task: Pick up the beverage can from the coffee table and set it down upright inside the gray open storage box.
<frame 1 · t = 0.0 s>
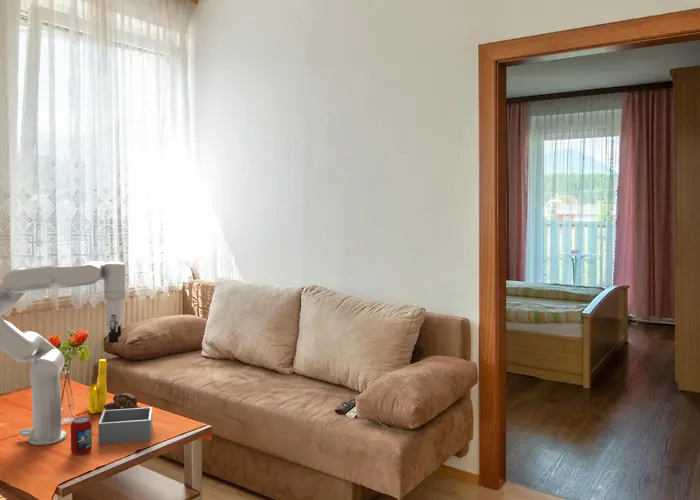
hand: (115, 339, 222), 37 cm above the table, tool pointing down, fingers open, 9 cm apart
wooden carving: (123, 418, 241), on the table
gray open storage box: (126, 435, 224), on the table
figure statuette: (97, 411, 248), on the table
beverage can: (81, 452, 209), on the table
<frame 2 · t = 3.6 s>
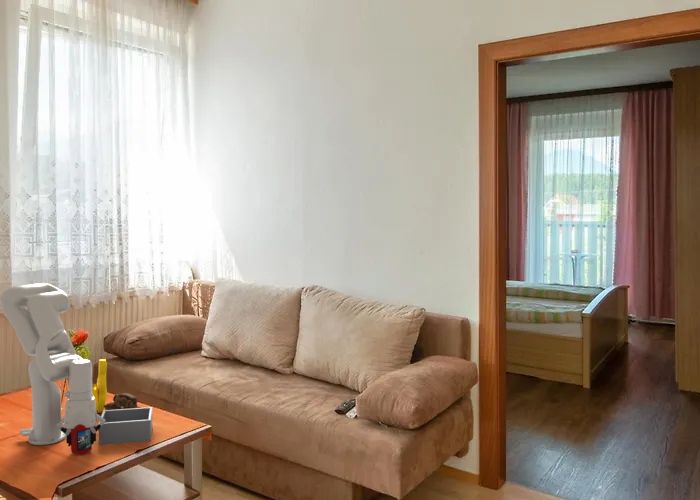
hand: (81, 443, 208), 3 cm above the table, tool pointing down, fingers closed on beverage can, 6 cm apart
beverage can: (81, 452, 209), on the table, touching gripper
everything else where it was.
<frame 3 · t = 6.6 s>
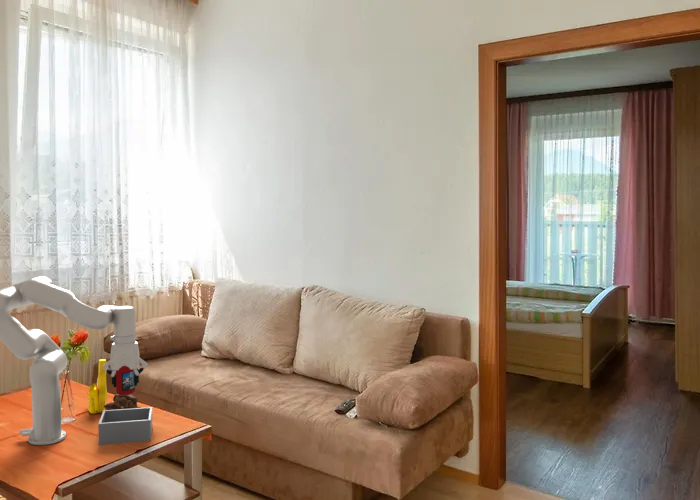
hand: (125, 385, 222), 20 cm above the table, tool pointing down, fingers closed on beverage can, 6 cm apart
beverage can: (125, 393, 222), point 16 cm above the table, touching gripper
everything else where it was.
when the fingers open (6 cm above the table, at t = 9.7 s): beverage can drops 2 cm, resting on gray open storage box.
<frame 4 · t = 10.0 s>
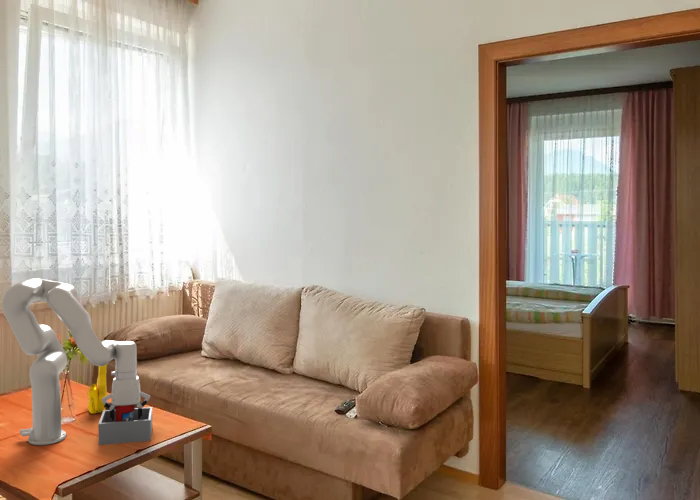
hand: (126, 418, 223), 7 cm above the table, tool pointing down, fingers open, 9 cm apart
beverage can: (125, 433, 224), point 1 cm above the table, touching gray open storage box
everything else where it was.
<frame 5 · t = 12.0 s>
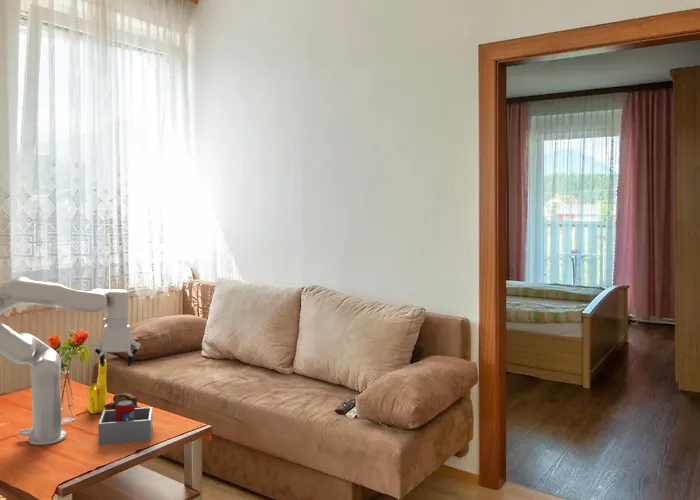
hand: (116, 365, 227), 26 cm above the table, tool pointing down, fingers open, 9 cm apart
nothing on the table moved.
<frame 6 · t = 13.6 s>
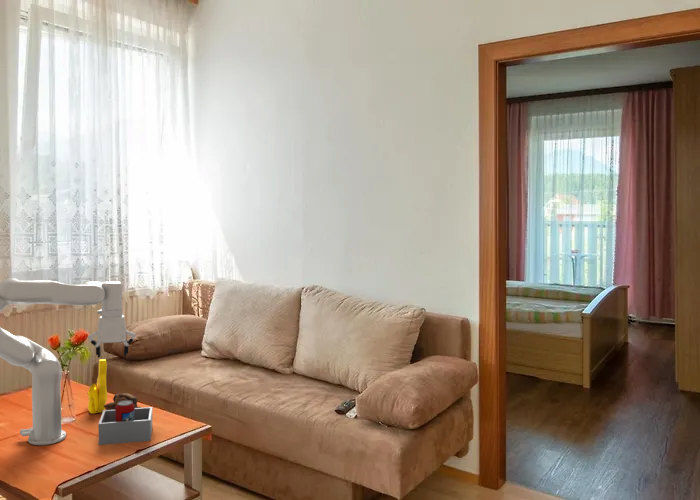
hand: (112, 356, 230), 28 cm above the table, tool pointing down, fingers open, 9 cm apart
nothing on the table moved.
at the end: beverage can inside the target area on the gray open storage box (0.5 cm from its centre), point 0.8 cm above the gray open storage box's base; beverage can tilted 0°; the gripper is holding nothing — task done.
